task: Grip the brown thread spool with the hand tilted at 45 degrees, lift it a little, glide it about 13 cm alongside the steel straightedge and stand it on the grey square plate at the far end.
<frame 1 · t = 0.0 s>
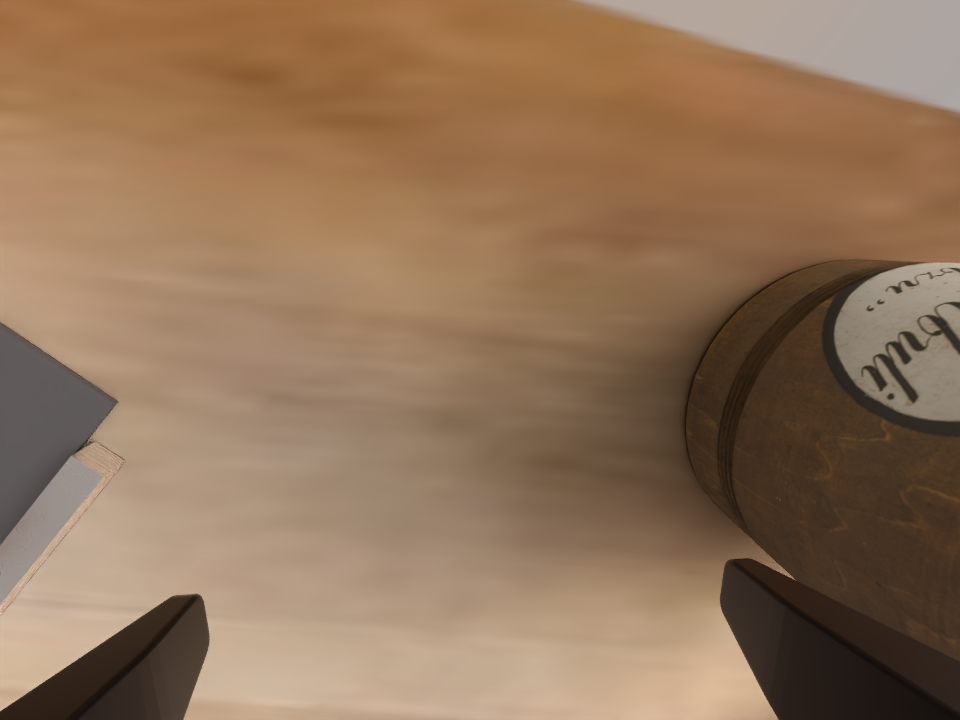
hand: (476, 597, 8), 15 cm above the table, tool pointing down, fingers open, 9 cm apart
steel straightedge: (1, 586, 23), on the table
wooden container: (818, 403, 25), on the table
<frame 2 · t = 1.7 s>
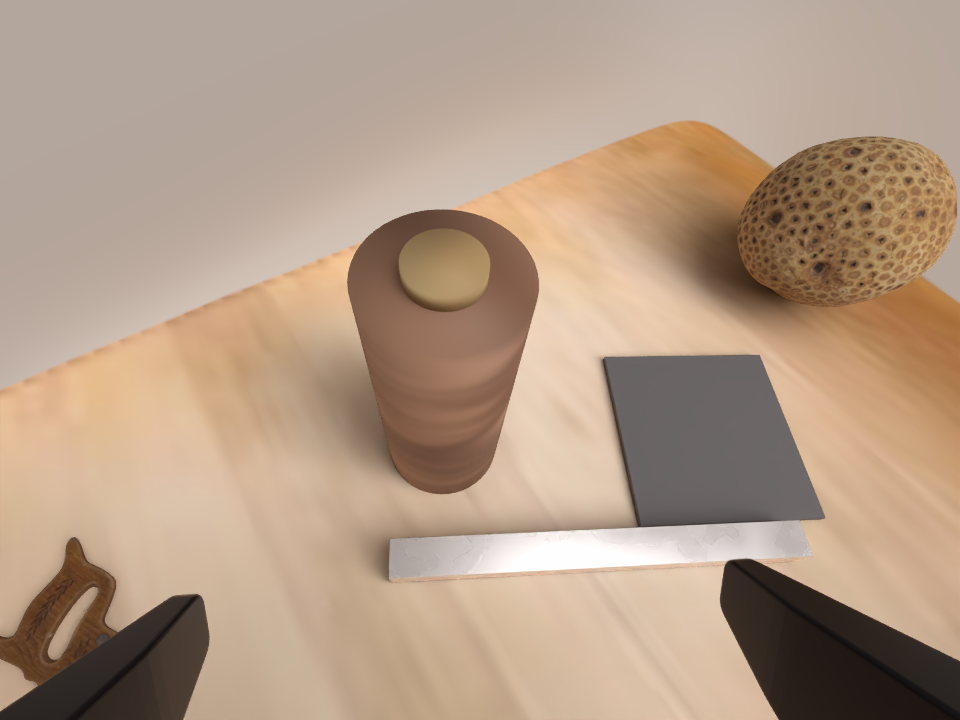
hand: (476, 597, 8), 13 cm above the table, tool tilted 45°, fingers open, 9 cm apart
steel straightedge: (595, 553, 22), on the table
natural sponge: (773, 290, 31), on the table
brown thread spool: (443, 441, 24), on the table
grey square plate: (704, 433, 25), on the table
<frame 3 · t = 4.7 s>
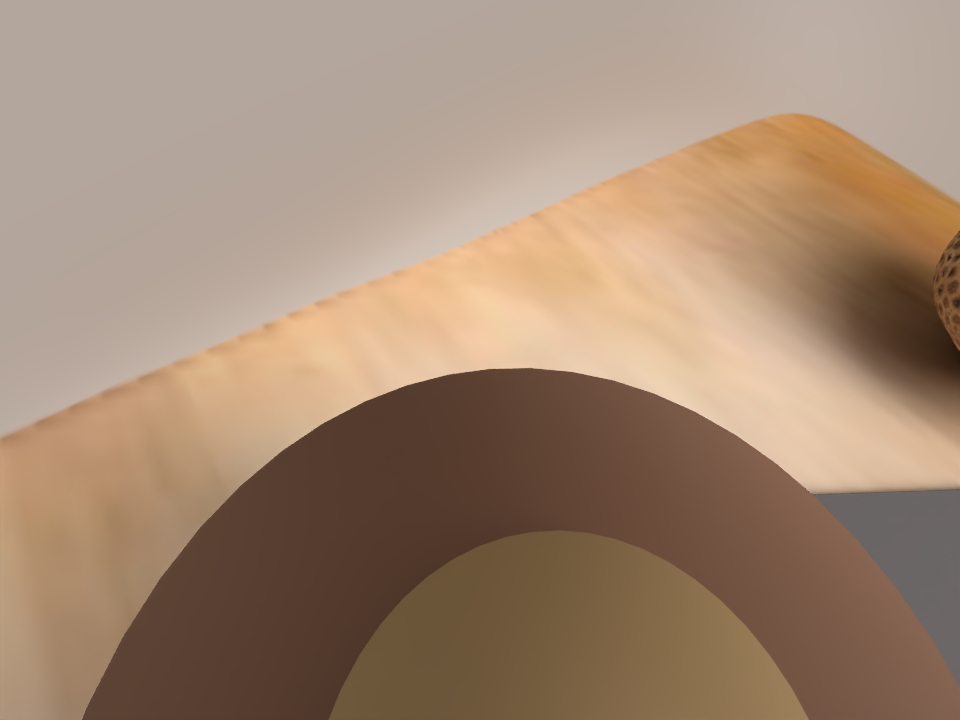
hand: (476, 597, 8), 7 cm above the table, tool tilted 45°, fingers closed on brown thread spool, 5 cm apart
brown thread spool: (465, 676, 13), on the table, touching gripper
grey square plate: (919, 647, 14), on the table
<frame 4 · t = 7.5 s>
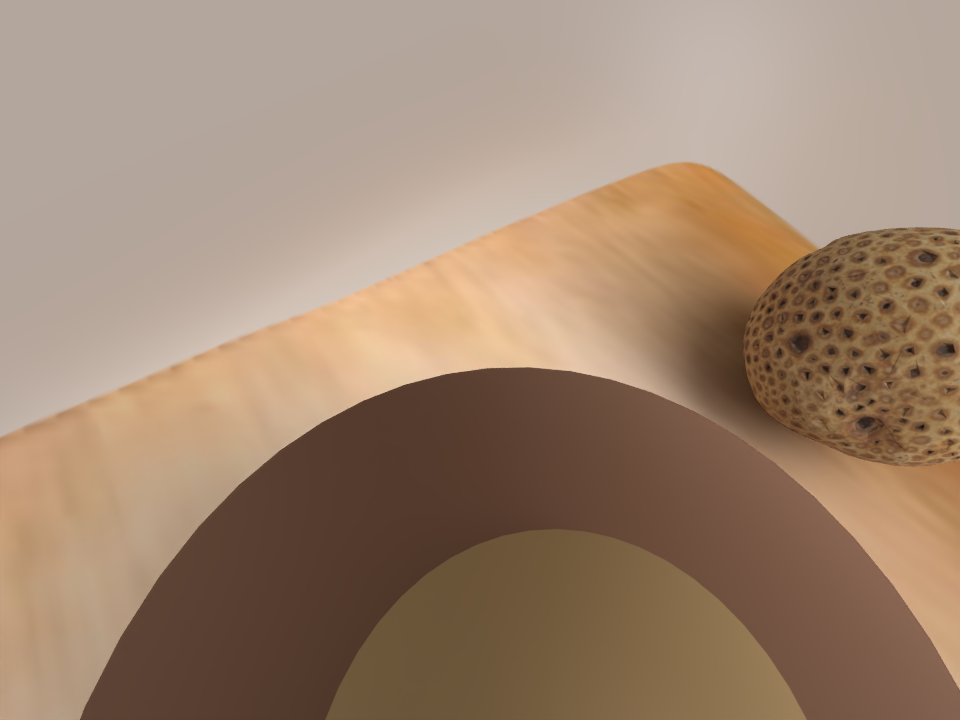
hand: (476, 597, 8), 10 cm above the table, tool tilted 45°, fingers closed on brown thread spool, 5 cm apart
natural sponge: (791, 408, 23), on the table
brown thread spool: (464, 675, 13), point 4 cm above the table, touching gripper
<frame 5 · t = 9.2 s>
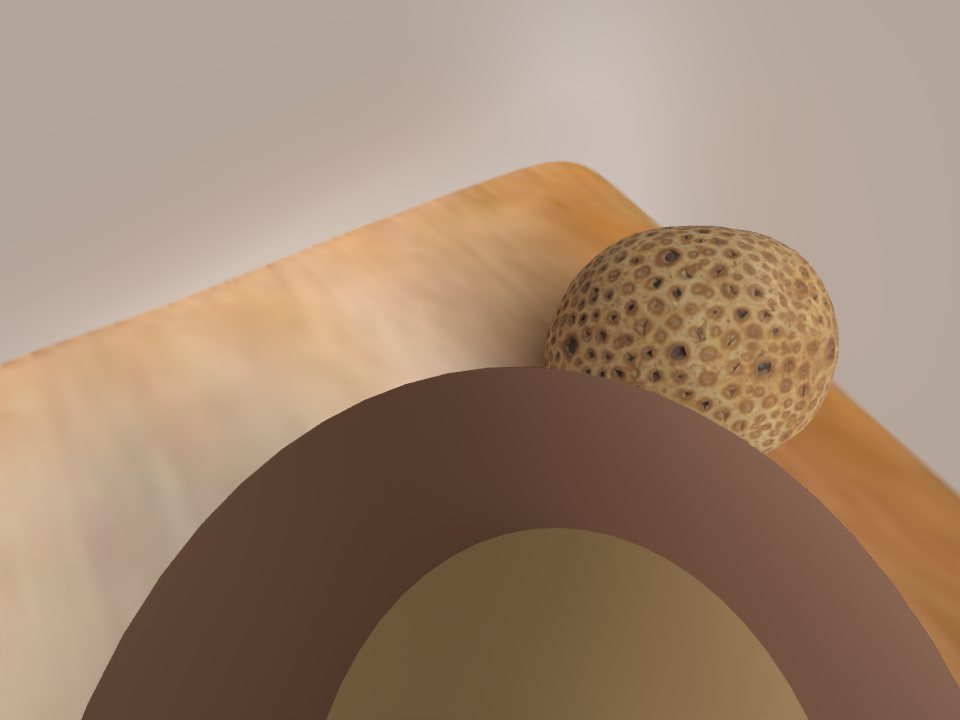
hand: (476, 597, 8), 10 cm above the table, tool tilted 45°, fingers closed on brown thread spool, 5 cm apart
natural sponge: (625, 411, 22), on the table
brown thread spool: (465, 675, 13), point 4 cm above the table, touching gripper
when the fingers open (8 cm above the table, at t = 10.6 s): brown thread spool stays where it is, resting on grey square plate.
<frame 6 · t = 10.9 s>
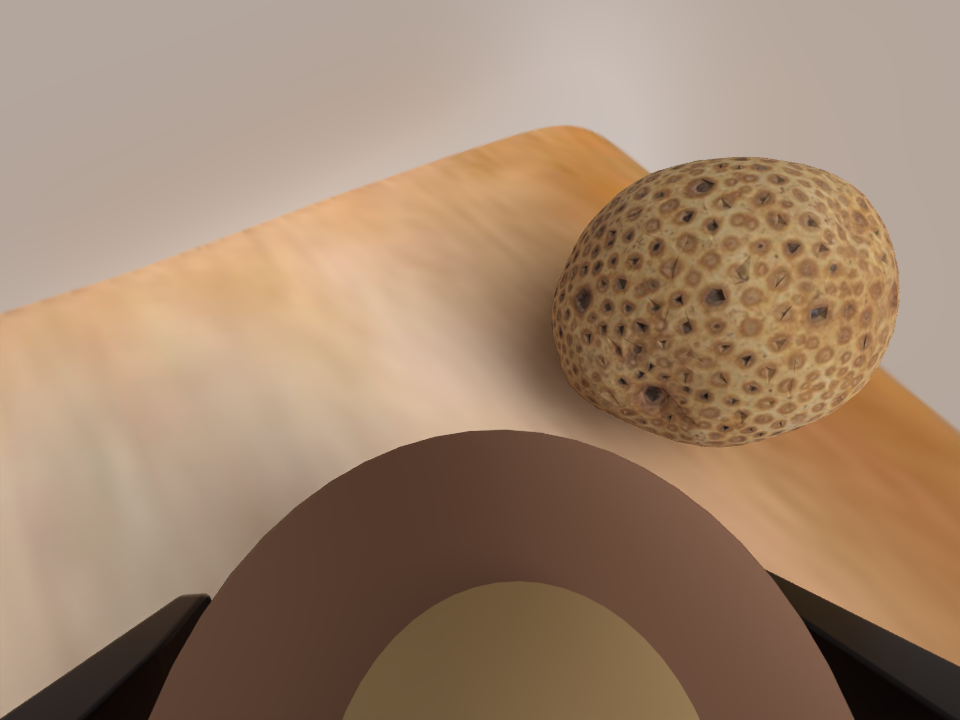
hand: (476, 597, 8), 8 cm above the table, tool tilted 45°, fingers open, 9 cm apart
natural sponge: (639, 387, 20), on the table
brown thread spool: (463, 679, 14), resting on grey square plate
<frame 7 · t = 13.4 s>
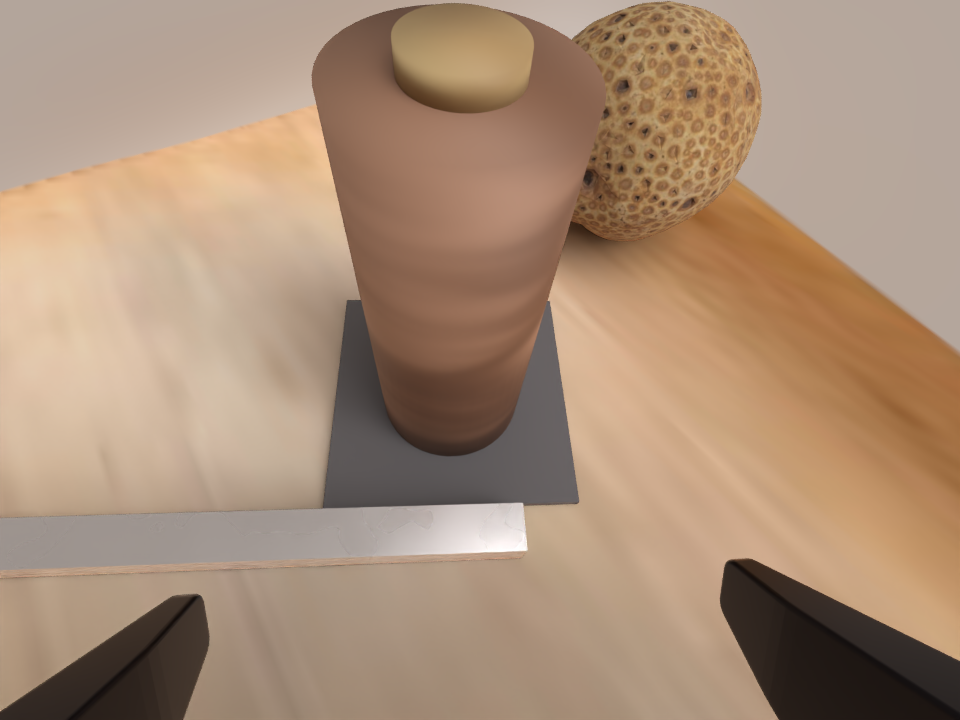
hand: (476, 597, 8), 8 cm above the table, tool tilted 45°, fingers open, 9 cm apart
steel straightedge: (252, 544, 16), on the table
natural sponge: (594, 230, 25), on the table
brown thread spool: (451, 393, 19), resting on grey square plate
grey square plate: (451, 394, 20), on the table
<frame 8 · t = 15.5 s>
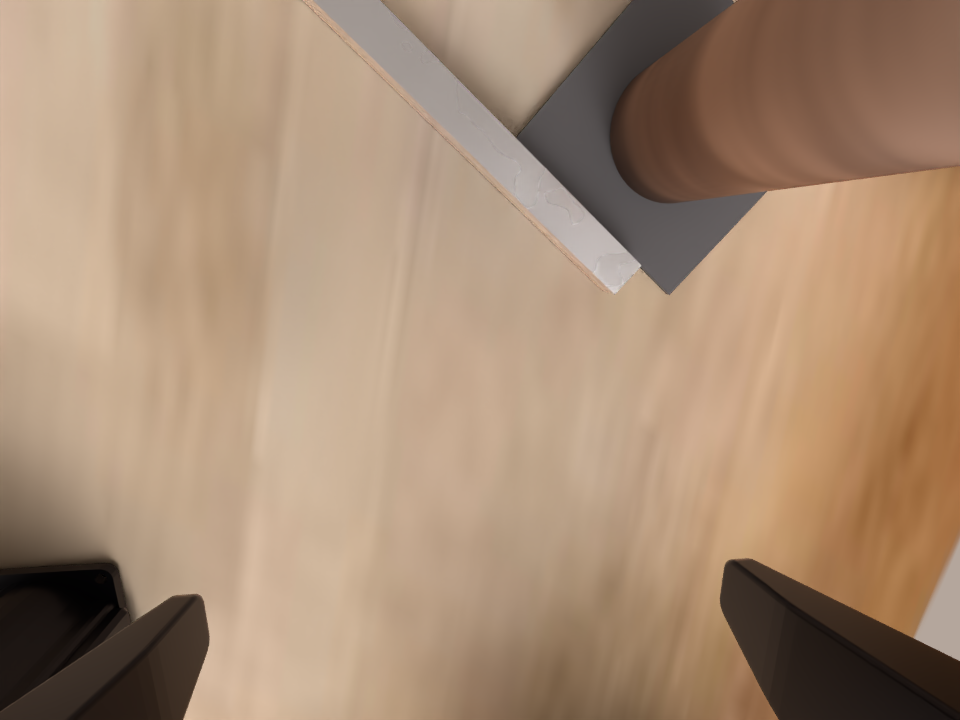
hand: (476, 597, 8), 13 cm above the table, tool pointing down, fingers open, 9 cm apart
steel straightedge: (453, 118, 18), on the table
brown thread spool: (674, 133, 19), resting on grey square plate
grey square plate: (672, 133, 19), on the table
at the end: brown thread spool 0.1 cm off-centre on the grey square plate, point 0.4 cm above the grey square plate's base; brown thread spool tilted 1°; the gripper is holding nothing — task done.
